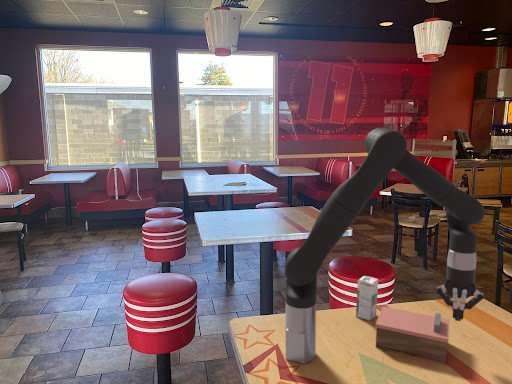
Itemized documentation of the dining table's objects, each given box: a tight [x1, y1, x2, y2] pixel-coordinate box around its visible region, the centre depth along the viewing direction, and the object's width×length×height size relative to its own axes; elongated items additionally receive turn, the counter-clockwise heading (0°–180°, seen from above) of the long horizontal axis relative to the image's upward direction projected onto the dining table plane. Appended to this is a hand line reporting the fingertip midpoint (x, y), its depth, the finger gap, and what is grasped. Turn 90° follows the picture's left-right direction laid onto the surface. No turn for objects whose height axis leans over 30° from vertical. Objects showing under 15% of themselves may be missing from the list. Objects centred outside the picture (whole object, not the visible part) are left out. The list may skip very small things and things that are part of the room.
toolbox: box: [375, 328, 448, 365], centre depth 122 cm, size 13×20×6 cm, turn 62°
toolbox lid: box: [374, 306, 450, 344], centre depth 121 cm, size 14×21×4 cm, turn 62°
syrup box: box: [355, 275, 379, 322], centre depth 141 cm, size 6×6×14 cm
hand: (457, 319), depth 115 cm, fingers closed
